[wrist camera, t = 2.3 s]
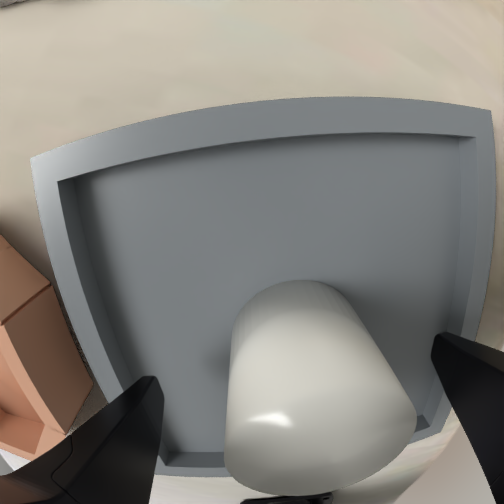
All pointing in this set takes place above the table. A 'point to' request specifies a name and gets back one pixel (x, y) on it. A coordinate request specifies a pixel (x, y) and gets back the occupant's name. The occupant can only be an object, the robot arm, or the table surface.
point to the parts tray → (268, 242)
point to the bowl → (35, 361)
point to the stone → (8, 2)
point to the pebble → (309, 394)
